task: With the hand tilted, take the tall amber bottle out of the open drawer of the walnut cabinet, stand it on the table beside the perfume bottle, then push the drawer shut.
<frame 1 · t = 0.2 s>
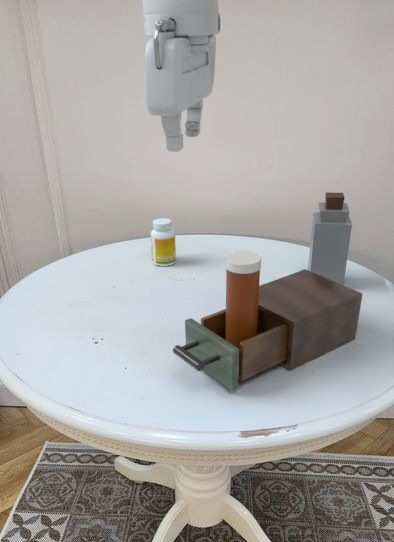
hand: (184, 142, 70), 33 cm above the table, tool pointing down, fingers open, 8 cm apart
cabinet: (295, 338, 91), on the table
supplement bottle: (164, 263, 120), on the table
drawer: (234, 343, 82), point 4 cm above the table, slide at 10.0 cm, touching pill bottle
perfume bottle: (324, 283, 110), on the table
pill bottle: (240, 353, 83), point 2 cm above the table, touching drawer
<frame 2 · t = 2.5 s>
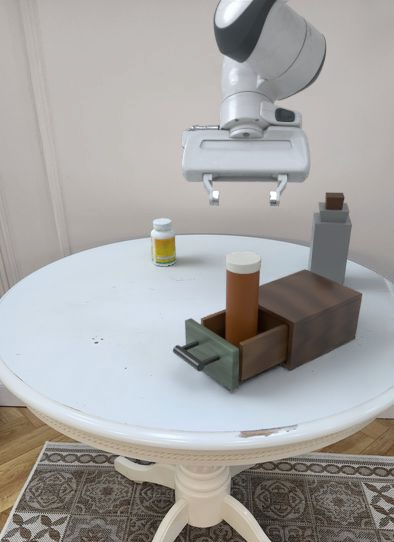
hand: (244, 204, 83), 22 cm above the table, tool tilted 45°, fingers open, 8 cm apart
nothing on the table moved.
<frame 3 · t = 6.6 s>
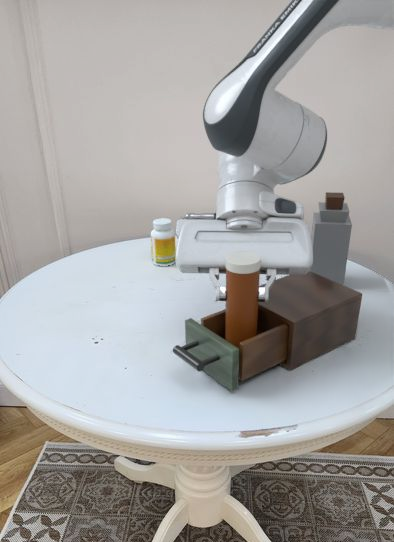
hand: (242, 300, 78), 12 cm above the table, tool tilted 45°, fingers closed on pill bottle, 5 cm apart
pill bottle: (240, 353, 83), point 2 cm above the table, touching drawer, gripper
everything else where it was.
when the fingers open (10 cm above the table, at t = 17.2 s): pill bottle stays where it is, on the table.
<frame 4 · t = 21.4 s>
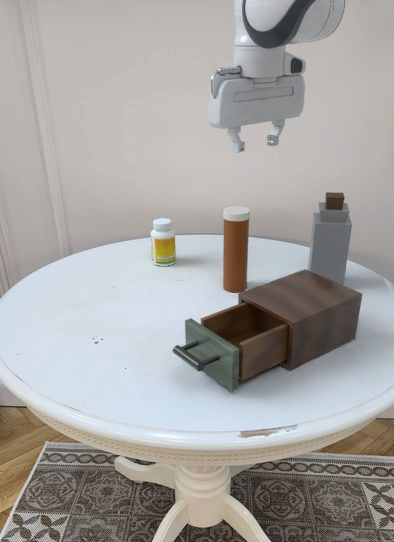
hand: (255, 148, 99), 26 cm above the table, tool pointing down, fingers open, 7 cm apart
drawer: (234, 343, 82), point 4 cm above the table, slide at 10.0 cm
pill bottle: (234, 287, 108), on the table
everything else where it was.
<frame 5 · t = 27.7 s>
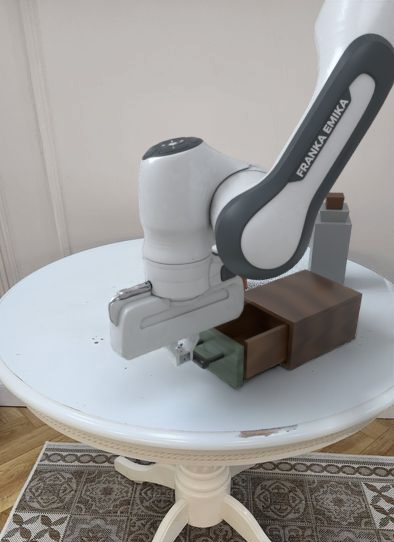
hand: (181, 361, 76), 5 cm above the table, tool pointing down, fingers closed
drawer: (238, 341, 82), point 4 cm above the table, slide at 9.1 cm, touching gripper
everything else where it was.
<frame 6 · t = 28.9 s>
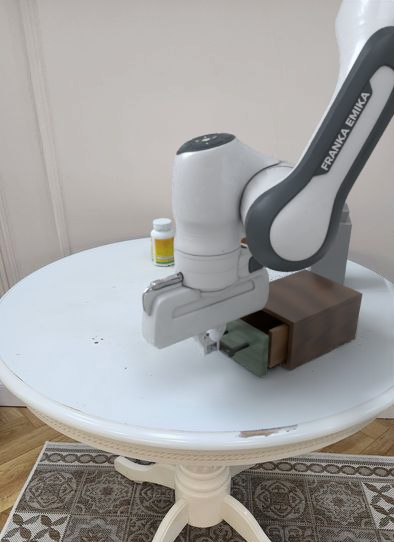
hand: (208, 351, 79), 5 cm above the table, tool pointing down, fingers closed
drawer: (261, 332, 84), point 4 cm above the table, slide at 4.3 cm, touching gripper
everything else where it was.
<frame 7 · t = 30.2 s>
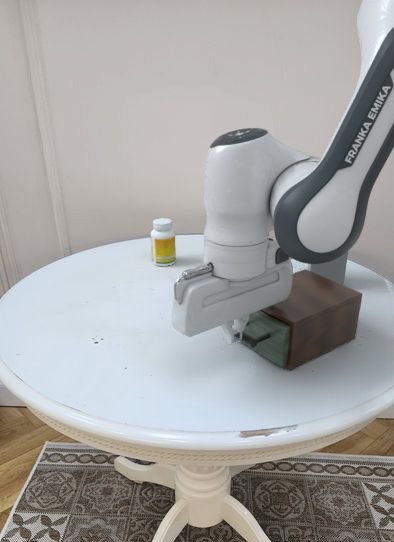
hand: (233, 341, 81), 5 cm above the table, tool pointing down, fingers closed
drawer: (281, 323, 87), point 4 cm above the table, slide at 0.0 cm, touching cabinet, gripper
everything else where it was.
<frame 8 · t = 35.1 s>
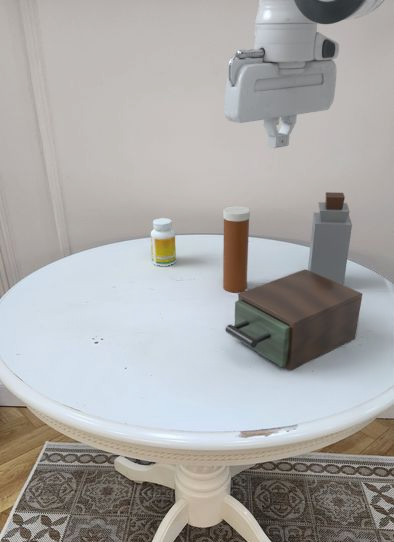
hand: (278, 146, 85), 29 cm above the table, tool pointing down, fingers closed
drawer: (281, 323, 87), point 4 cm above the table, slide at 0.0 cm, touching cabinet
everything else where it was.
at the end: pill bottle inside the target area on the table beside the perfume bottle (0.2 cm from its centre), on the table; pill bottle tilted 0°; drawer slide at 0.0 cm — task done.
